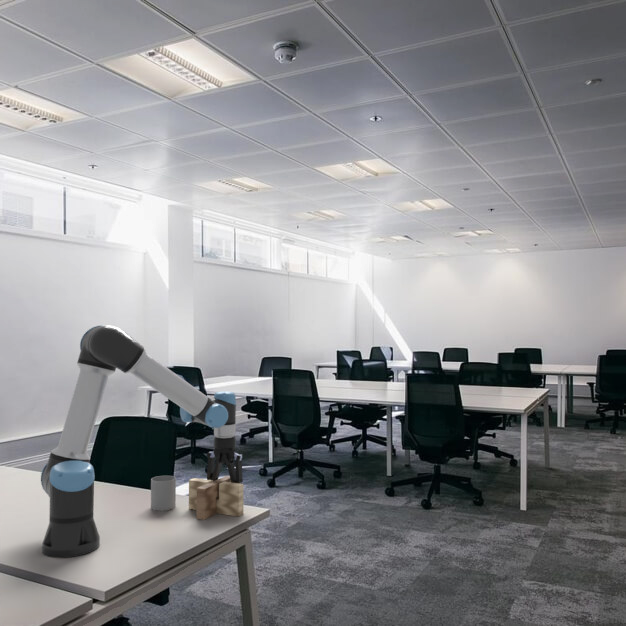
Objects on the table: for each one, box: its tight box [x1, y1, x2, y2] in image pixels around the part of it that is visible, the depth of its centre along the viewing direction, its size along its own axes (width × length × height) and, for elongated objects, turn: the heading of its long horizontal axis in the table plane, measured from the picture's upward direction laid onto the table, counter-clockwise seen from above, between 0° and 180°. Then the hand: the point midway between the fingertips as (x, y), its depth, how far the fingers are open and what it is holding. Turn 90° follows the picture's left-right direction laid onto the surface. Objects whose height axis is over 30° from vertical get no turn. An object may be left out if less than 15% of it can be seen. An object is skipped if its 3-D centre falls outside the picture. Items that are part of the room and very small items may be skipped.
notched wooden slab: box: [188, 477, 244, 517], centre depth 202 cm, size 20×3×10 cm, turn 66°
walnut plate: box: [196, 475, 231, 521], centre depth 202 cm, size 18×3×10 cm, turn 156°
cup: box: [150, 475, 177, 511], centre depth 207 cm, size 8×8×10 cm
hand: (224, 502), depth 207 cm, fingers open, 6 cm apart
